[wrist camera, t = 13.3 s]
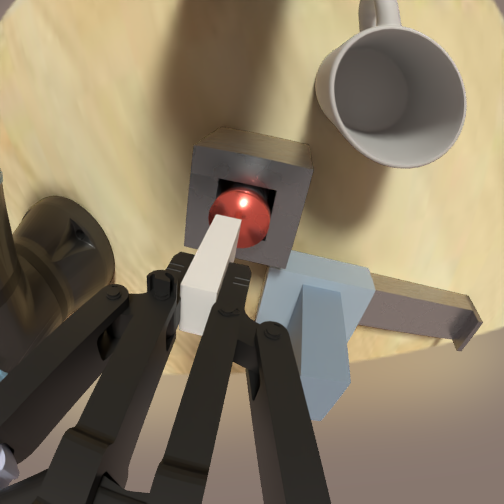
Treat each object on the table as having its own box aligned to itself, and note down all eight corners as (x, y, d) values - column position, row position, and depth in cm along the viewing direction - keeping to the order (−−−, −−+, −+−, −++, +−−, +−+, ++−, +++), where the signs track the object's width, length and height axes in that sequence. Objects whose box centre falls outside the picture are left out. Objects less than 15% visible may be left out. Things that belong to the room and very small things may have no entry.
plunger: (230, 193, 29) (205, 240, 21) (237, 153, 27) (212, 186, 19) (272, 202, 29) (262, 253, 21) (281, 162, 27) (275, 200, 19)
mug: (407, 138, 24) (463, 175, 15) (317, 134, 26) (329, 169, 16) (403, 13, 18) (459, -14, 9) (307, 6, 19) (313, -37, 10)
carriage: (258, 305, 35) (237, 413, 23) (273, 245, 30) (255, 357, 19) (342, 322, 34) (350, 428, 23) (368, 267, 30) (396, 378, 18)
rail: (262, 286, 35) (256, 317, 31) (271, 250, 32) (267, 278, 28) (449, 324, 35) (461, 351, 30) (468, 295, 32) (482, 322, 28)
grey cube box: (209, 205, 31) (184, 246, 24) (221, 126, 26) (193, 145, 19) (288, 222, 30) (285, 269, 24) (308, 144, 26) (313, 169, 19)
